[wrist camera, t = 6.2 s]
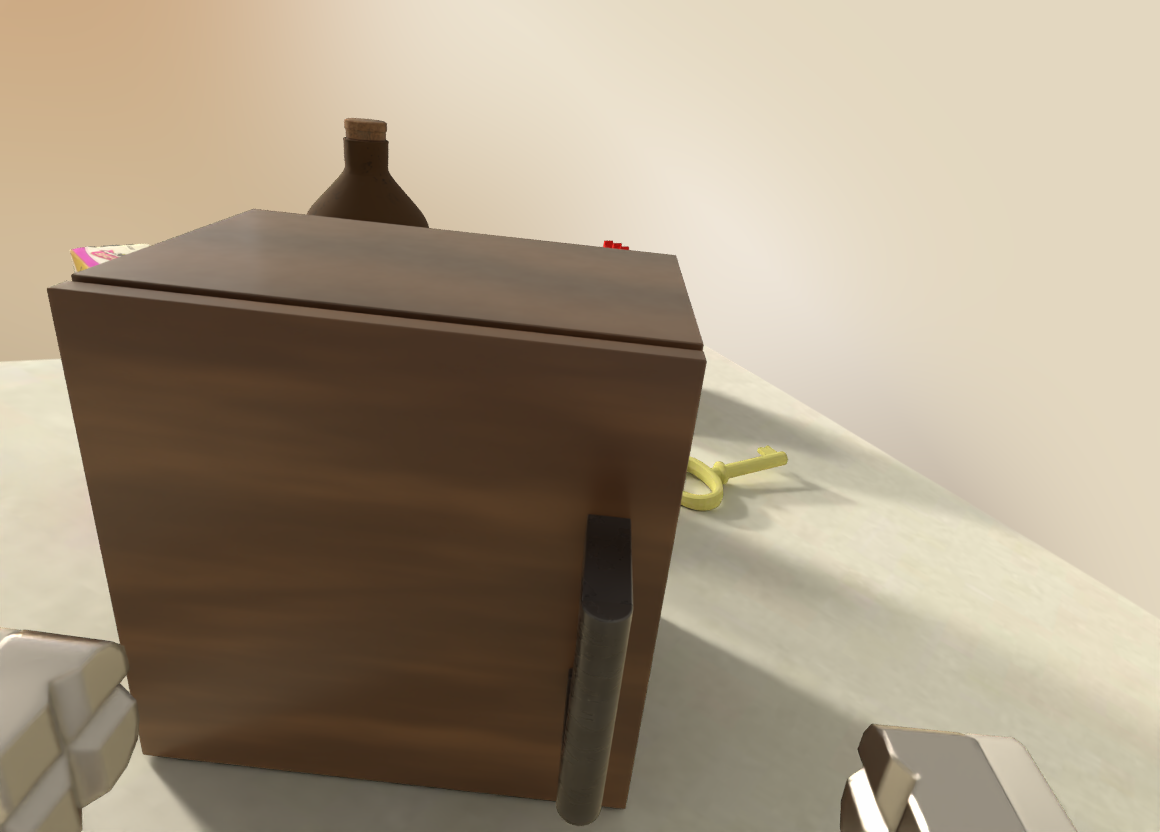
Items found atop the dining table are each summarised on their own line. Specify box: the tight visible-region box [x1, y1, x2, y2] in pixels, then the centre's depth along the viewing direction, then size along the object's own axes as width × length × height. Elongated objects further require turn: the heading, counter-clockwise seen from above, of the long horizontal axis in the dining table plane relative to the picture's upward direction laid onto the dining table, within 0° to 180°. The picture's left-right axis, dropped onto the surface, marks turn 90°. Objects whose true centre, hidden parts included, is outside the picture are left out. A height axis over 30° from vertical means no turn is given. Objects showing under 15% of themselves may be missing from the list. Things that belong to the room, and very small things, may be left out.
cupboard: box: [71, 209, 704, 351], centre depth 37 cm, size 14×22×22 cm, turn 87°
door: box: [47, 281, 707, 826], centre depth 27 cm, size 7×22×22 cm, turn 87°
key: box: [681, 446, 788, 511], centre depth 63 cm, size 7×12×2 cm, turn 132°
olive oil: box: [307, 118, 429, 228], centre depth 63 cm, size 11×11×25 cm
